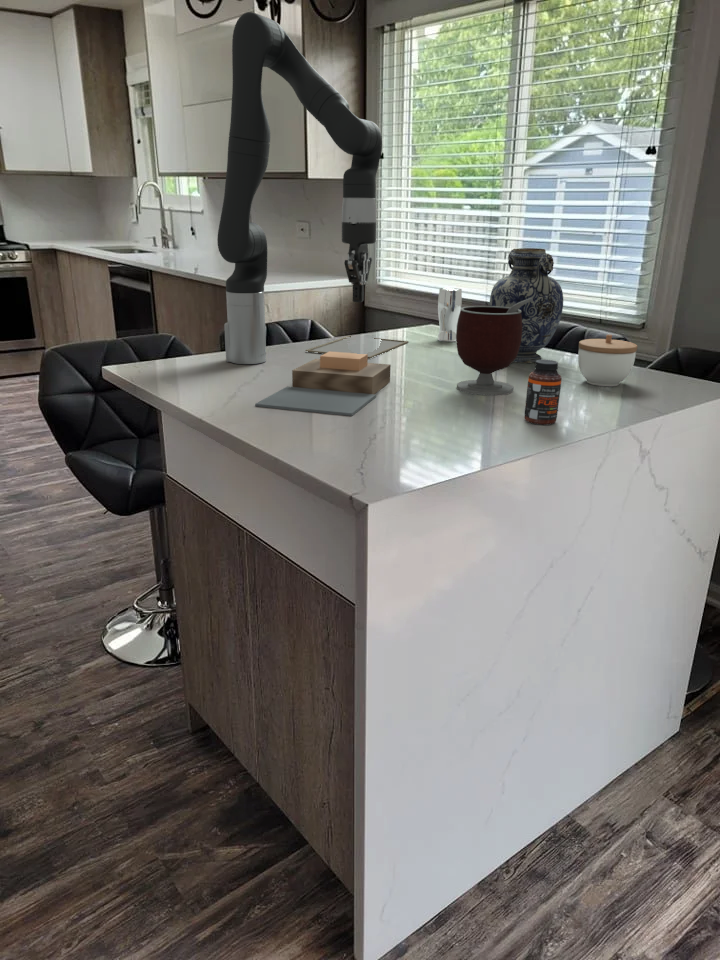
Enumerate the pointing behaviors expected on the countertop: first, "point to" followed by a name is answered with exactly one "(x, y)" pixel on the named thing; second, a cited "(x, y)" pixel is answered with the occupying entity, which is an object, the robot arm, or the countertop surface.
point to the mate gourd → (488, 344)
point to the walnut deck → (342, 378)
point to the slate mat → (317, 400)
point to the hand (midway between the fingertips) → (358, 301)
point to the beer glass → (448, 313)
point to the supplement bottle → (543, 393)
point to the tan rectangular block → (343, 360)
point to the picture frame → (342, 346)
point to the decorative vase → (526, 284)
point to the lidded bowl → (606, 360)
